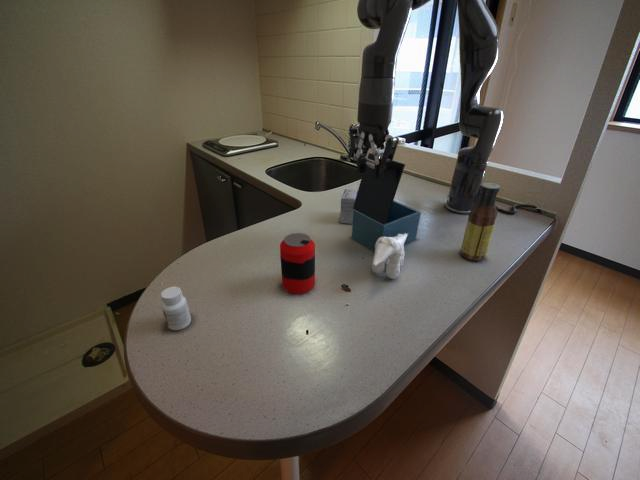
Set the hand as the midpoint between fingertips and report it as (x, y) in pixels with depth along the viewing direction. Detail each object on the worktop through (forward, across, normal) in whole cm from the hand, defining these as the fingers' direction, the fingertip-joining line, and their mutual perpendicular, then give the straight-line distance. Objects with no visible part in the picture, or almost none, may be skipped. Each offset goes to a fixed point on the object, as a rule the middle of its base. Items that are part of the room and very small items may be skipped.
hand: (369, 175), depth 77 cm
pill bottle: (+20, 0, +49) cm, 53 cm away
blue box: (+21, 0, -8) cm, 22 cm away
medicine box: (+21, +16, -8) cm, 28 cm away
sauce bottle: (+21, -20, -21) cm, 36 cm away
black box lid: (+4, 0, -4) cm, 5 cm away
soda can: (+21, -4, +24) cm, 32 cm away
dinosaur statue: (+21, -11, +1) cm, 24 cm away
